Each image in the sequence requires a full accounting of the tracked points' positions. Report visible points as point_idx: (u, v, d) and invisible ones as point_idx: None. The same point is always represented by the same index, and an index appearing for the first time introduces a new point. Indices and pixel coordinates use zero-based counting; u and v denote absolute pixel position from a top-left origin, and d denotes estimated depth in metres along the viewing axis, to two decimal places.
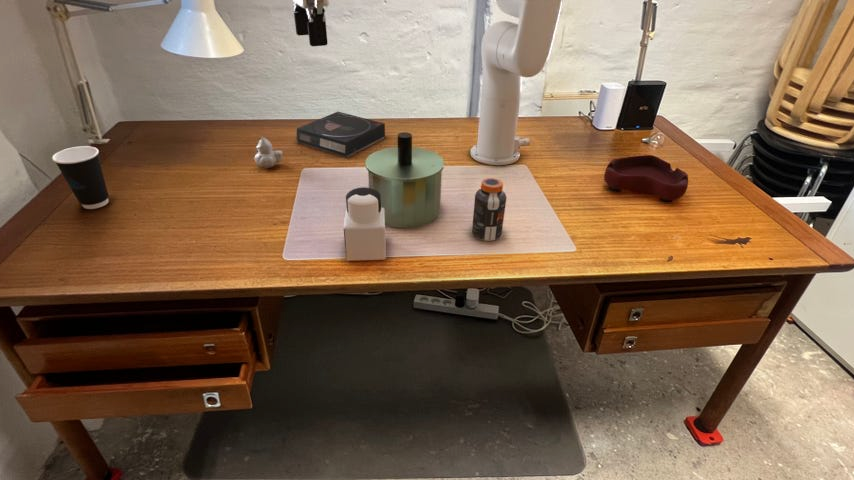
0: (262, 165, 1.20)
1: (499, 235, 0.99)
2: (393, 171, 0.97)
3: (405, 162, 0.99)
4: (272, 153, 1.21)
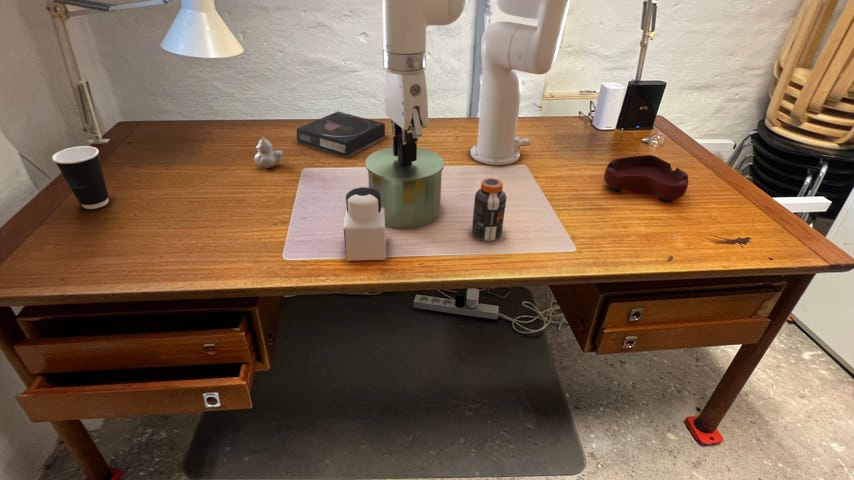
0: (262, 165, 1.20)
1: (499, 235, 0.99)
2: (393, 171, 0.97)
3: None
4: (272, 153, 1.21)
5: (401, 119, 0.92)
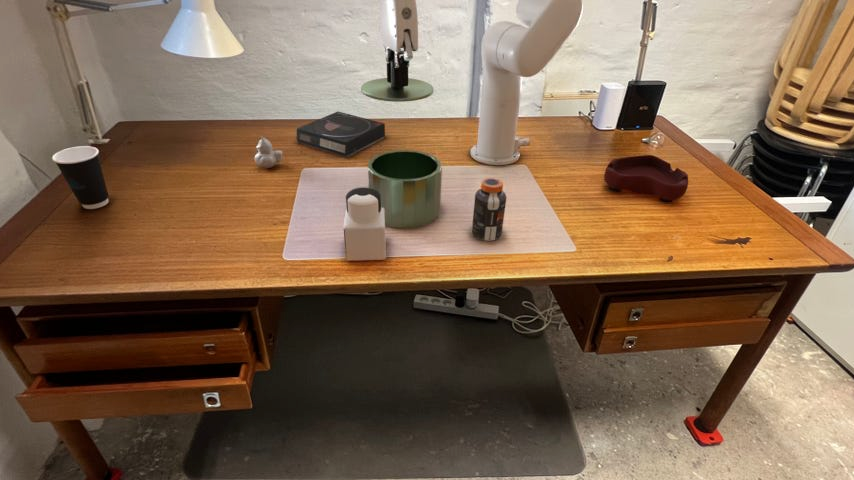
0: (262, 165, 1.20)
1: (499, 235, 0.99)
2: (386, 93, 1.06)
3: (397, 87, 1.08)
4: (272, 153, 1.21)
5: (394, 42, 1.01)
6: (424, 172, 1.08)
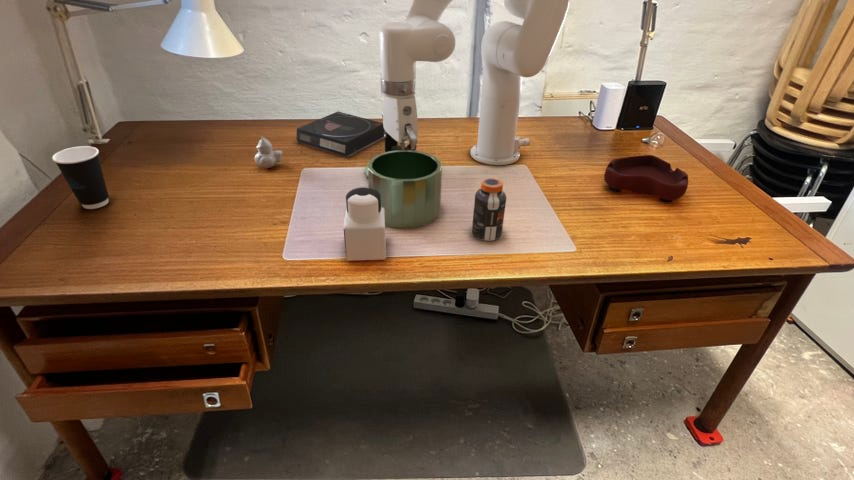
0: (262, 165, 1.20)
1: (499, 235, 0.99)
2: None
3: None
4: (272, 153, 1.21)
5: (396, 134, 1.12)
6: (424, 172, 1.08)
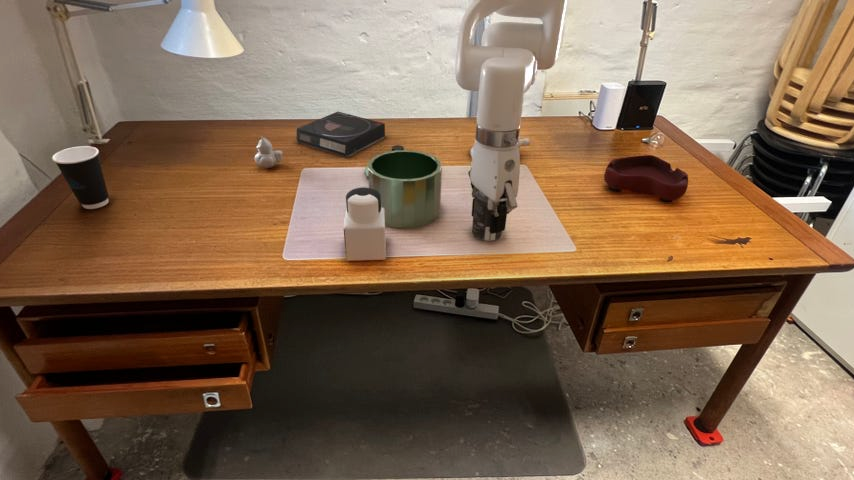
0: (262, 165, 1.20)
1: (499, 235, 0.99)
2: None
3: None
4: (272, 153, 1.21)
5: (492, 192, 0.91)
6: (424, 172, 1.08)
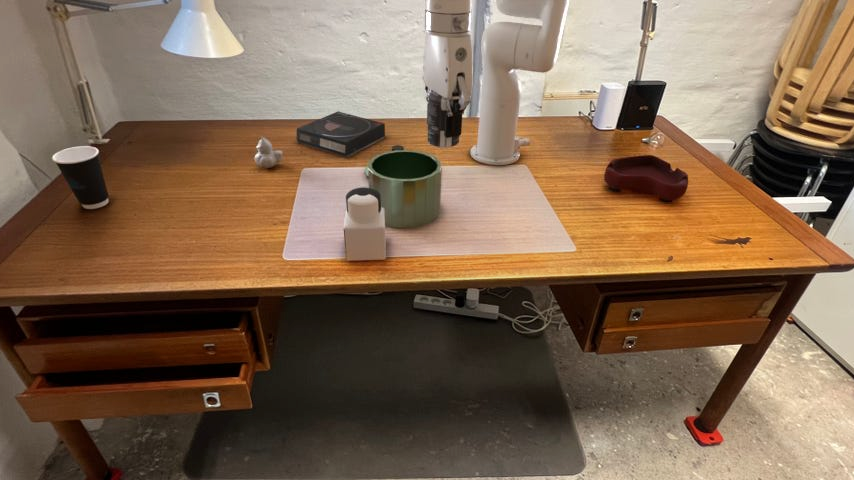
0: (262, 165, 1.20)
1: (456, 142, 0.93)
2: None
3: None
4: (272, 153, 1.21)
5: (444, 87, 0.85)
6: (424, 172, 1.08)
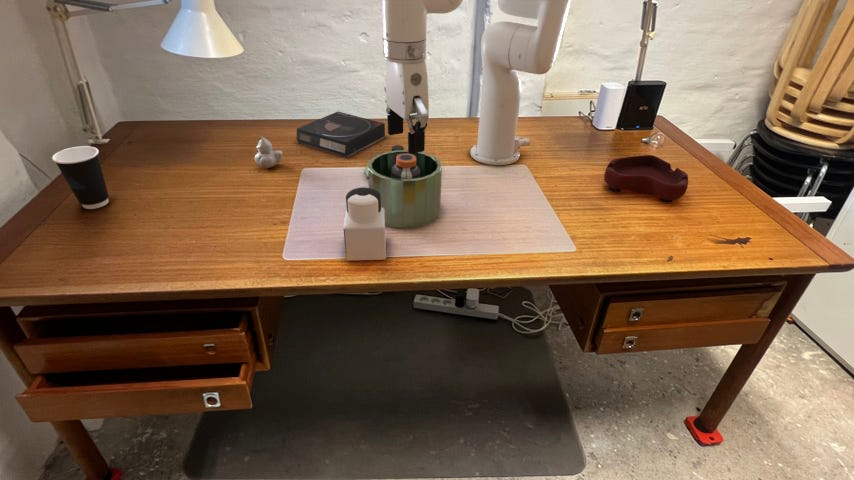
0: (262, 165, 1.20)
1: None
2: None
3: None
4: (272, 153, 1.21)
5: (401, 109, 0.91)
6: (424, 172, 1.08)
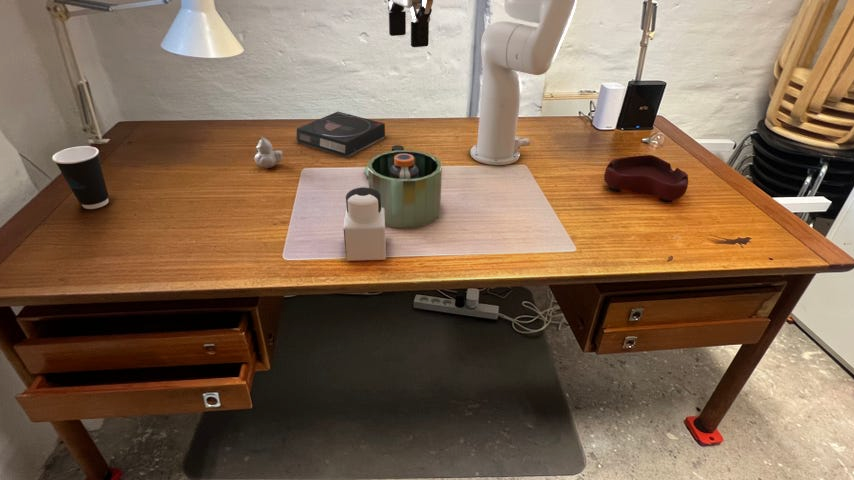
0: (262, 165, 1.20)
1: None
2: None
3: None
4: (272, 153, 1.21)
5: None
6: (424, 172, 1.08)
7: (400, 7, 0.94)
